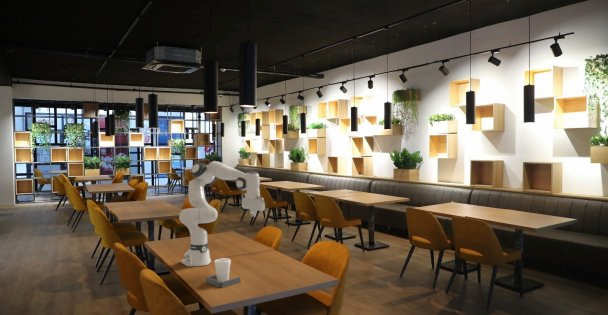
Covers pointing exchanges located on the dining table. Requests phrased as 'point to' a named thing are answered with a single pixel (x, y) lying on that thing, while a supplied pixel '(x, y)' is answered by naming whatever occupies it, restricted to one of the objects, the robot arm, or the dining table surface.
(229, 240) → the dining table surface
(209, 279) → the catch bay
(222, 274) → the foam cup
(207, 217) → the robot arm
